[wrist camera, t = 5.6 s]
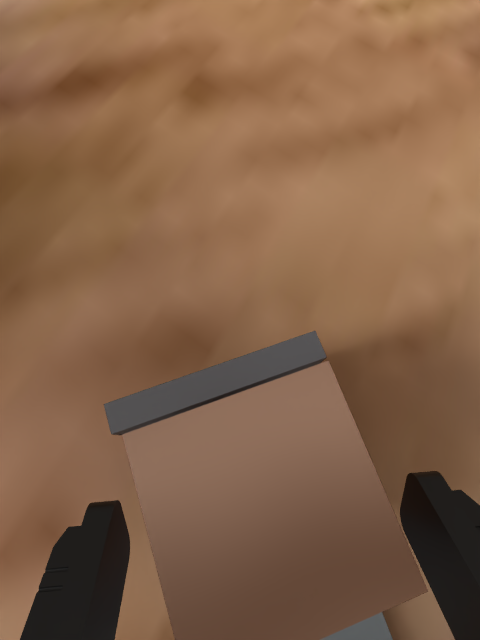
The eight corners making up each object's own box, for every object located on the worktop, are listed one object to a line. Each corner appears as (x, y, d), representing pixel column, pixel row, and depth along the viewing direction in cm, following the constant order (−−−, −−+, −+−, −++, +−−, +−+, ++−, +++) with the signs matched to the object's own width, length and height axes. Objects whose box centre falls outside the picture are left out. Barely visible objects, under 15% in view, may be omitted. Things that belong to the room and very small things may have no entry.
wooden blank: (183, 441, 17) (122, 434, 8) (278, 406, 18) (328, 360, 8) (215, 550, 16) (189, 697, 7) (317, 509, 17) (428, 591, 7)
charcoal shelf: (144, 417, 23) (103, 404, 16) (291, 365, 24) (315, 330, 17) (192, 590, 20) (169, 667, 13) (354, 523, 21) (414, 561, 14)
